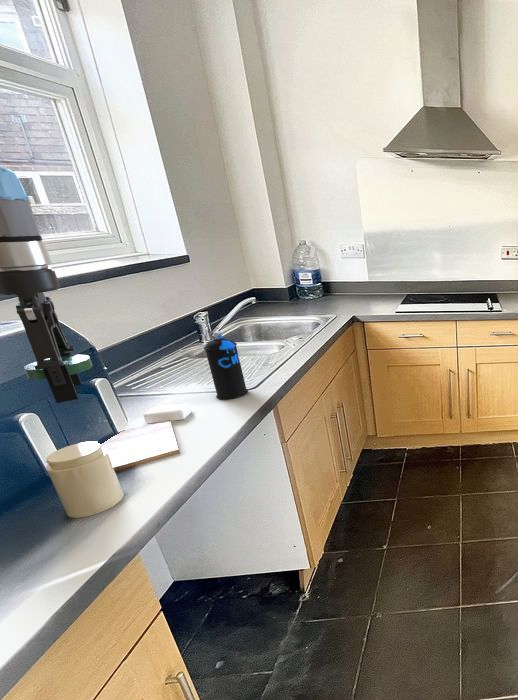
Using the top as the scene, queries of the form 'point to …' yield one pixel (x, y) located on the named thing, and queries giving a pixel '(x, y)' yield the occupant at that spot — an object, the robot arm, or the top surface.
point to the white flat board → (141, 445)
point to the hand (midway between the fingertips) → (70, 392)
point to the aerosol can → (225, 367)
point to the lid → (72, 363)
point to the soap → (167, 413)
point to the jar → (84, 479)
